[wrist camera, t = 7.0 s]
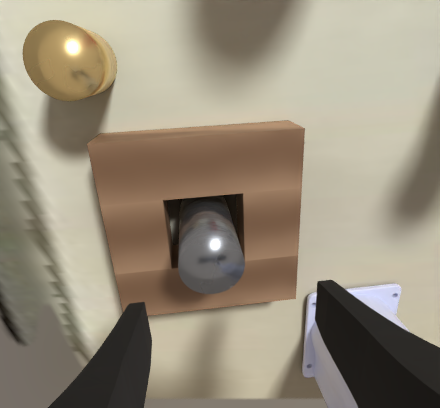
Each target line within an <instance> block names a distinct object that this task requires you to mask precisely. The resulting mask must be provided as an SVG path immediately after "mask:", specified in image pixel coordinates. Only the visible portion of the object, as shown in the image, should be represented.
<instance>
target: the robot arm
mask: <svg viewBox="0 0 440 408" xmlns="http://www.w3.org/2000/svg"><path fill="white" fill-rule="evenodd" d="M400 293H401V287H400V286H399V285H398V284H395V283H394V284H385V285H377V286H368V287H359V288H351V289H344V288H342V287H341V286H340V285H338V284H337V283H336V282H334V281H333V280H326V281H318V284H317V292H316V293H311V294H309V296H308V297H307V309H306V323H305V337H304V351H303V365H302V373H303V376H304V377H306V378H309V377H315V379H316V382H317V384H318V386H319V389H320V391H321V393H322V396H323V398H324V400H325V403H326V405H327V407H328V408H440V348H439V347H437V346H435V345H433V344H431V343H429V342H427V341H425V340H423V339H421V338H419V337H418V336H416V335H414V334H412V333H410V331H409V330H408V329H407V328H406V327H405V326H404V324H403V323H402V322H401V321H400V320H399V319H398V318H397V316H396V312H397V308H398V303H399V298H400ZM393 294H394V295H393ZM313 303H315V304H313ZM312 304H313V305H312ZM151 348H152V338H151V333H150V327H149V322H148V317H147V311H146V306H145V302H138V303H129V305H128V306H127V307H126V309H125V310H124V312H123V314H122V315H121V317H120V319H119V320H118V322H117V324H116V325H115V327H114V328H113V330H112V331H111V333H110V334H109V336H108V337H107V339H106V340H105V341H104V343H103V344H102V346H101V347H100V349H99V350H98V351H97V352H96V354H95V355H94V356H93V358H92V359H91V360H90V362H89V363H88V364H87V366H86V367H85V368H84V369H83V370H82V372H81V373H80V374H79V375H78V376H77V378H76V379H75V380H74V381H73V382H72V383H71V384H70V385H69V387H68V388H67V389H66V390H65V391H64V392H63V393H62V394H61V395H60V396H59V397H58V398H57V399H56V400H55V401H54V402H53V403H52V404H51V405H50V406H49V407H48V408H144V403H145V397H146V391H147V385H148V379H149V372H150V366H151Z"/></svg>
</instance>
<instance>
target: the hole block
mask: <svg viewBox="0 0 440 408" xmlns="http://www.w3.org/2000/svg"><path fill="white" fill-rule="evenodd" d="M304 133H305V128H303V127H301V126H299V125H297V124H295V123H293V122H291V121H274V122H260V123H246V124H231V125H217V126H203V127H188V128H174V129H160V130H145V131H131V132H117V133H102V134H99V135H98V136H96V137H95V138H94V139H93V140H91V141H90V142H89V143H88V144H87V147H88V152H89V156H90V161H91V166H92V170H93V175H94V180H95V184H96V189H97V193H98V198H99V203H100V207H101V212H102V217H103V221H104V226H105V231H106V235H107V240H108V245H109V249H110V254H111V258H112V263H113V268H114V272H115V277H116V282H117V286H118V291H119V296H120V300H121V305H122V309H123V312H124V310H125V309H126V307H127V306H128V305H129V303H138V302H145V306H146V311H147V316H150V315H159V314H167V313H176V312H185V311H193V310H202V309H211V308H219V307H228V306H237V305H245V304H254V303H262V302H271V301H280V300H288V299H296V284H297V265H298V246H299V228H300V209H301V190H302V171H303V152H304ZM229 194H236V205H237V235H238V240H239V244H240V247H241V250H242V253H243V256H244V260H245V268H244V272H243V275H242V277H241V278H240V280H239V281H238V282H237V283H236V284H235V285H234V286H233V287H231V288H230V289H228V290H226V291H224V292H221V293H216V294H203V293H199V292H196V291H194V290H192V289H190V288H189V287H187V286H186V285H185V284H184V282H183V281H182V279H181V277H180V275H179V270H178V261H179V245H173V242H172V234H171V226H170V218H169V210H168V202H167V200H172V199H183V198H195V197H206V196H218V195H229Z"/></svg>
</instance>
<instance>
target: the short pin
mask: <svg viewBox="0 0 440 408" xmlns="http://www.w3.org/2000/svg"><path fill="white" fill-rule="evenodd" d="M23 61H24V65H25V68H26V71H27V73H28V75H29V77H30V78H31V80H32V81H33V83H34V84H35V85H36V86H37V87H38V88H39V89H40V90H41V91H42V92H44V93H45V94H47V95H49V96H51V97H53V98H55V99H58V100H62V101H76V100H80V99H83V98H86V97H89V96H92V95H96V94H99V93H101V92H104V91H105V90H107V89H108V88H109V87H110V86H111V85H112V83H113V81H114V79H115V77H116V73H117V61H116V57H115V54H114V52H113V50H112V48H111V47H110V45H109V44H108V43H107V42H106V41H105V40H104V39H103V38H102V37H101V36H99V35H98V34H96V33H94V32H91V31H89V30H86V29H84V28H81V27H79V26H76V25H73V24H71V23H68V22H65V21H60V20H50V21H45V22H42V23H40V24H38V25H37V26H35V27H34V28H33V29H32V30H31V31H30V32H29V34H28V35H27V37H26V39H25V42H24V46H23Z"/></svg>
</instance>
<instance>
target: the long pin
mask: <svg viewBox="0 0 440 408" xmlns="http://www.w3.org/2000/svg"><path fill="white" fill-rule="evenodd" d="M244 268H245V260H244V256H243V253H242V250H241V247H240V244H239V240H238V237H237V234H236V231H235V228H234V225H233V222H232V218H231V215H230V212H229V209H228V206H227V203H226V201H225V199H224V197H223V196H222V195H218V196H206V197H195V198H184V199H183V200H182V202H181V205H180V219H179V261H178V270H179V275H180V277H181V279H182V281H183V282H184V284H185V285H186V286H187V287H189V288H190V289H192V290H194V291H196V292H199V293H203V294H216V293H221V292H224V291H226V290H228V289H230V288H231V287H233V286H234V285H235V284H236V283H237V282H238V281H239V280H240V278H241V277H242V275H243V272H244Z"/></svg>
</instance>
